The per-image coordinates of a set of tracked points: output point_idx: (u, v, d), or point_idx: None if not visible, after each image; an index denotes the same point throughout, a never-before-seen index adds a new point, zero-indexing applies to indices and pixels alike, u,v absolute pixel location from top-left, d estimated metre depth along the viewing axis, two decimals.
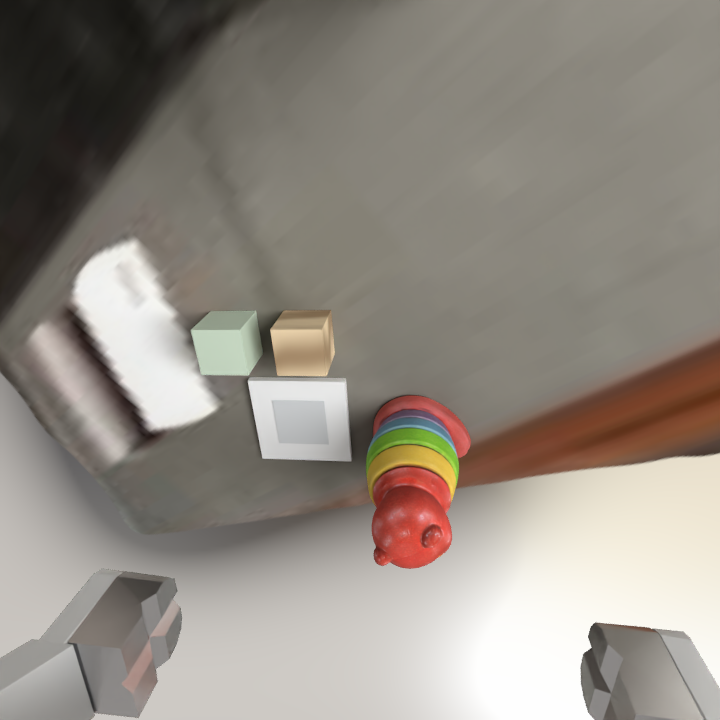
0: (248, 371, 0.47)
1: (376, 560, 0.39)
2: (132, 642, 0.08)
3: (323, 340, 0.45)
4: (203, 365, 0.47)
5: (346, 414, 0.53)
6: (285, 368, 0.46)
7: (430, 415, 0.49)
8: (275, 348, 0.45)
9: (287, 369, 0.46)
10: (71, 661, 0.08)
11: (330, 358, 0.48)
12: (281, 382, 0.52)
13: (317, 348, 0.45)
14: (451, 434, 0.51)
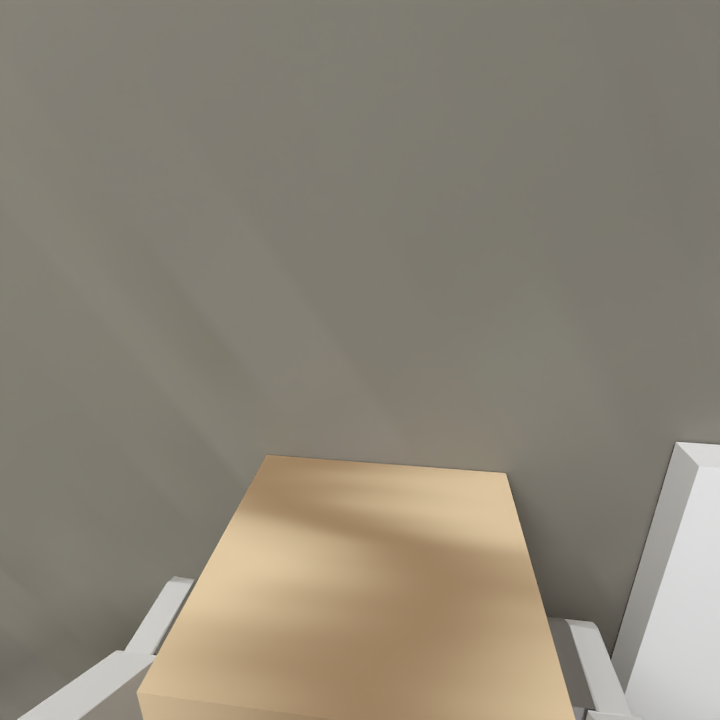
0: None
1: None
2: None
3: (250, 682, 0.06)
4: None
5: None
6: None
7: None
8: None
9: None
10: None
11: (489, 563, 0.07)
12: None
13: None
14: None
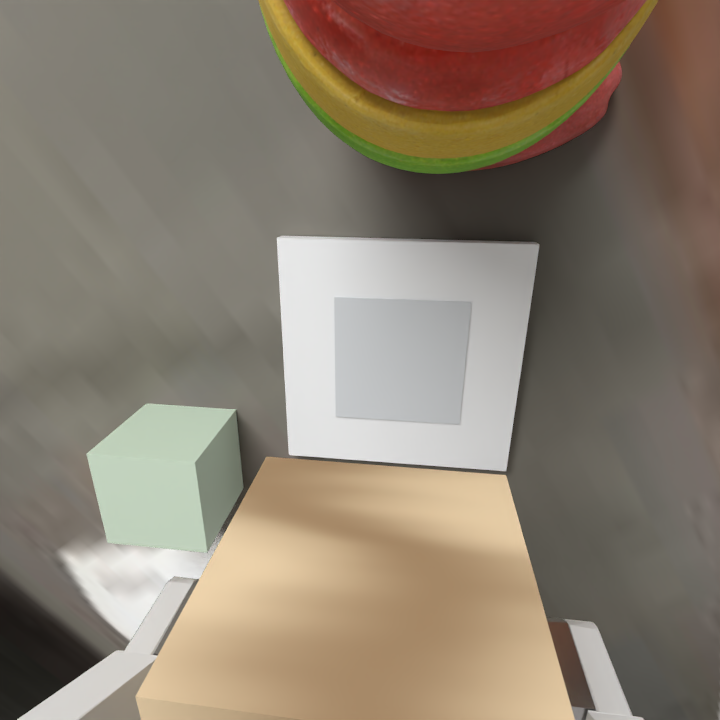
0: (191, 458, 0.20)
1: None
2: None
3: (249, 686, 0.06)
4: (183, 542, 0.22)
5: (375, 243, 0.20)
6: None
7: None
8: None
9: None
10: None
11: (489, 566, 0.07)
12: (288, 387, 0.23)
13: None
14: None
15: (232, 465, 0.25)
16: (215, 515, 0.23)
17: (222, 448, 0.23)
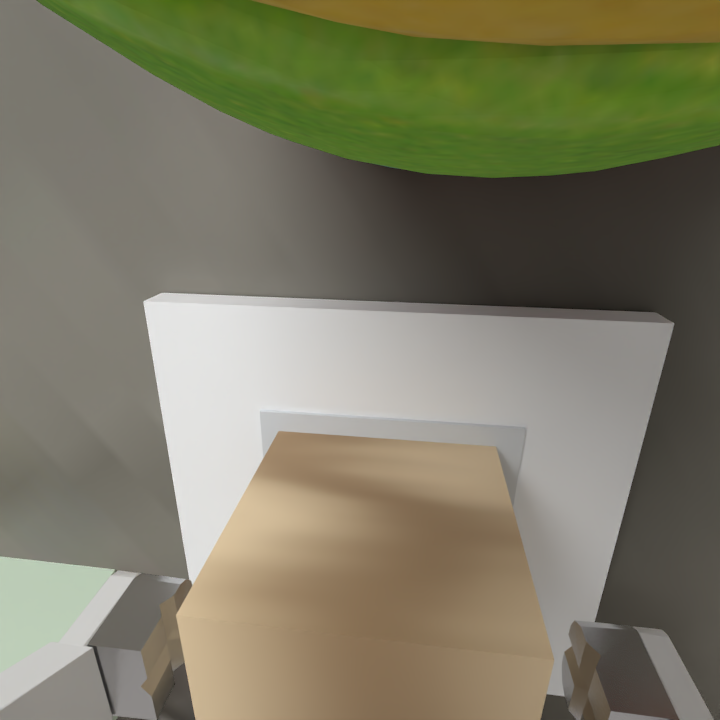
0: None
1: None
2: (151, 644, 0.08)
3: (271, 608, 0.07)
4: None
5: (334, 314, 0.10)
6: None
7: None
8: None
9: None
10: (91, 663, 0.08)
11: (478, 519, 0.08)
12: (191, 552, 0.13)
13: (321, 664, 0.06)
14: None
15: None
16: None
17: None
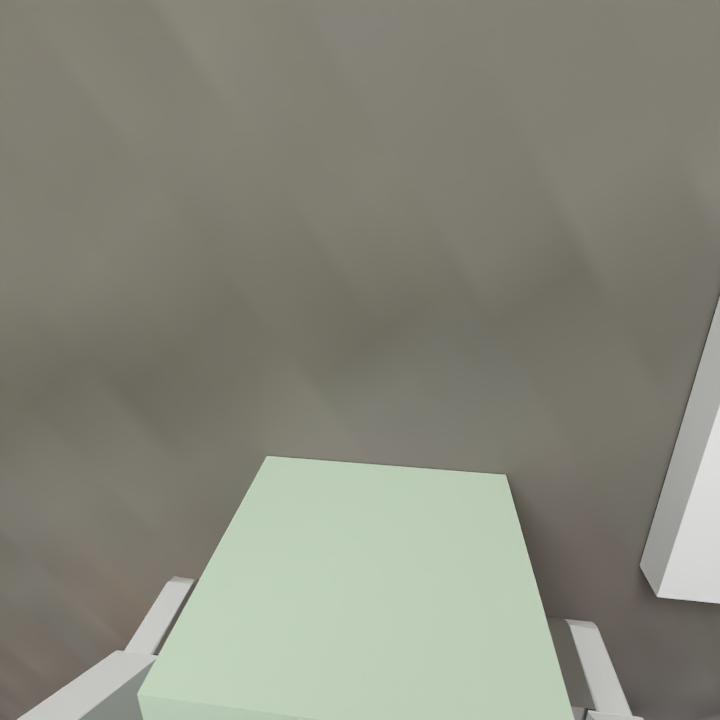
0: None
1: None
2: None
3: None
4: None
5: None
6: None
7: None
8: None
9: None
10: None
11: None
12: None
13: None
14: None
15: None
16: None
17: None
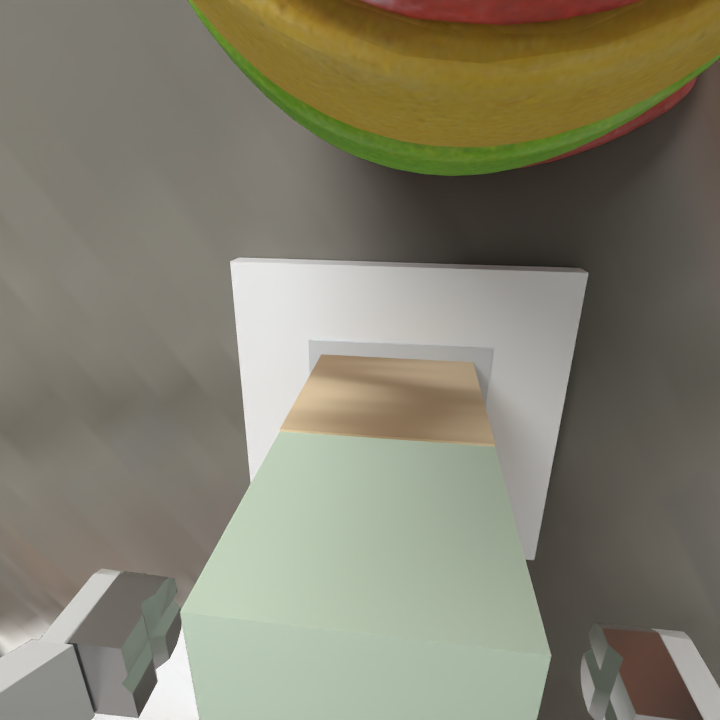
0: (525, 634, 0.06)
1: None
2: (132, 642, 0.08)
3: (334, 427, 0.11)
4: None
5: (362, 269, 0.15)
6: None
7: None
8: None
9: None
10: (71, 661, 0.08)
11: (457, 394, 0.13)
12: (252, 452, 0.18)
13: None
14: None
15: None
16: None
17: None
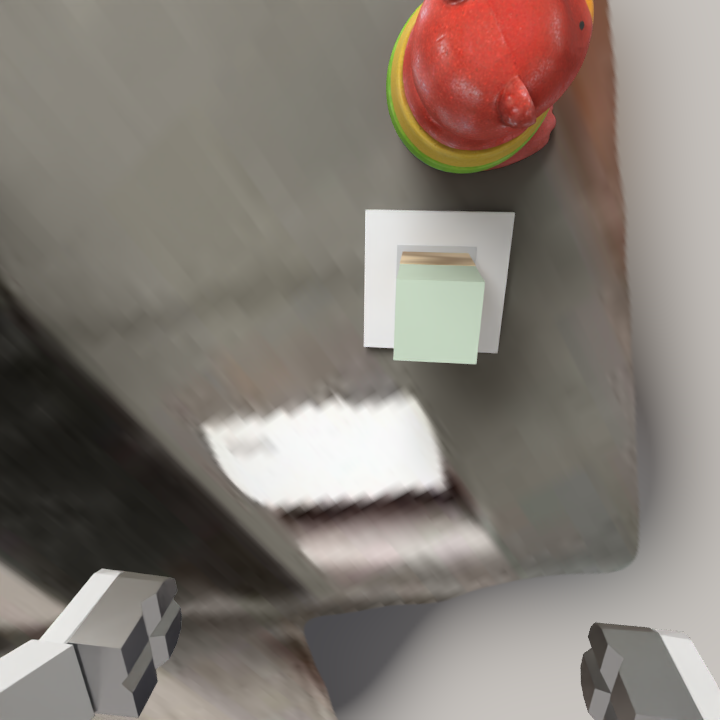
0: (479, 281, 0.27)
1: (521, 118, 0.18)
2: (132, 642, 0.08)
3: (418, 262, 0.32)
4: (458, 356, 0.28)
5: (422, 212, 0.35)
6: None
7: None
8: None
9: None
10: (71, 661, 0.08)
11: (462, 258, 0.33)
12: (366, 301, 0.38)
13: None
14: None
15: None
16: None
17: None
